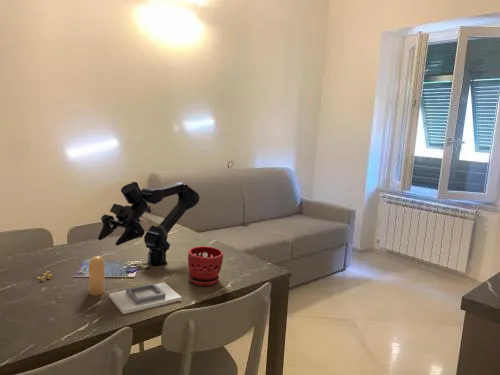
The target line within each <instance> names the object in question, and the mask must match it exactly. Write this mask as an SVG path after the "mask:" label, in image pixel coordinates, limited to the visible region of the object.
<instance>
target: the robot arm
mask: <svg viewBox="0 0 500 375" xmlns="http://www.w3.org/2000/svg"><path fill="white" fill-rule="evenodd" d="M120 192H121V194H122V195H123V197H124V199H125V201H126V202H127V204H129V205H122V204H117V203H113V205H112V207H111V208H110V210H109V212H110V213H112V214H113V215H109V214H103V215H102V216H101V217H100V220H101V223H102V228H101V230H100V232H99V235H98V238H97V239H98V241H102V240H104V239H105V238H107V237H108V236H109V235H112V233H114V231H115V230H117V228H122V229H124V231H123V233H122V234H121V235H120V236H119V237H118V239H117V240H116V242H115V246H120V245H122V244H125V243H127V242H130V241H133V240H137V239H141V238H143V236H144V238H143V240H144V241H143V242H144V244H145V247H146V249H149V250H148V252H147V262H148V263H149V264H150V265H151V266H152V267H155V266H162V265H167V264H168V261H167V251H168V250H169V251H170V247H171V244H170V243H169V242H168V237H169V236H168V235H169V232H170V231H171V230H172V228H174V226H175V225H176V224H177V223H178V222H179V220H180V219H181V217H182V216H183V215H184V214H185V213H186V212H187V211H188V210H190V209H193V208H194V207H195V206H196V205H198V204H199V202H200V195H199V193H198V192H196V191H195V190H194V189H193V188H191V186H189V185H188V184H186V183H185V182H180V181H179V182H178V181H177V182H174V183H171V184H167V185H164V186H160V187H143V188H142V189H141V188H140V186H139V184H138V182H137V181H132V182H131V183H127V184H126V185H124V186H122V188H120ZM174 195H176V196H177V204H175V206H174V207H173V208H172V209H171V210H170V211H169V213H168V214H167V215H166V216H165V218H164V219H163V220H162V221H161V222H160V223H159V224H158V225H151V226H150V227H149V228H148V230H146V232H145V230H144V228H143V226H142V224H141V217H142V216H143V215H144V214H145V213H147V214H151V213H152V208H151V206H150V205H149V204H152V205H157V204H158V203H160V202H162V201H163V199H165V198H167V197H170V196H174ZM114 215H115V217H114ZM116 219H117V220H116Z"/></svg>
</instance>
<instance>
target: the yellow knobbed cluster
mask: <svg viewBox="0 0 500 375" xmlns="http://www.w3.org/2000/svg"><path fill="white" fill-rule="evenodd" d="M46 278H47V279H48V280H51V279H53V275H52V273H51V271H49V270H47V271H45V273H43V276H37V277H36V279H37V280H39V279H40V282H45V281H46Z"/></svg>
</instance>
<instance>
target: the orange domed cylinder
mask: <svg viewBox="0 0 500 375" xmlns="http://www.w3.org/2000/svg"><path fill="white" fill-rule="evenodd" d="M105 264H106V263H105V260H104V258H103V257H102V256H98V255H97V256H96V255H95V256H93V257H92V258H90V259H89V261H88V288H89V291H88V292H89V293H88V294H89V295H90V296H94V297H95V296H96V297H97V296H102V295H104V294H105V289H106V286H105V284H106V283H105V279H106V277H105V275H106V274H105V273H106V272H105V271H106V270H105V268H106V267H105Z"/></svg>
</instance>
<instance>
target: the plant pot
mask: <svg viewBox="0 0 500 375" xmlns="http://www.w3.org/2000/svg"><path fill="white" fill-rule="evenodd" d="M204 253H206V254H207V256H206V257H205V256H203V254H204ZM187 255H188V256H187V265H188V270H189V274H188V280H189V281H190V282H191V283H192V284H195V285H197V286H211V285H214V284H216V283H217V282H218V281H219V279H220V276H219V274H220V272H221V270H222V266H223V260H224V252H223V251H222V250H221V249H220V248H216V247H212V246H195V247H192V248H190V249H189V250H188V254H187Z"/></svg>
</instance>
